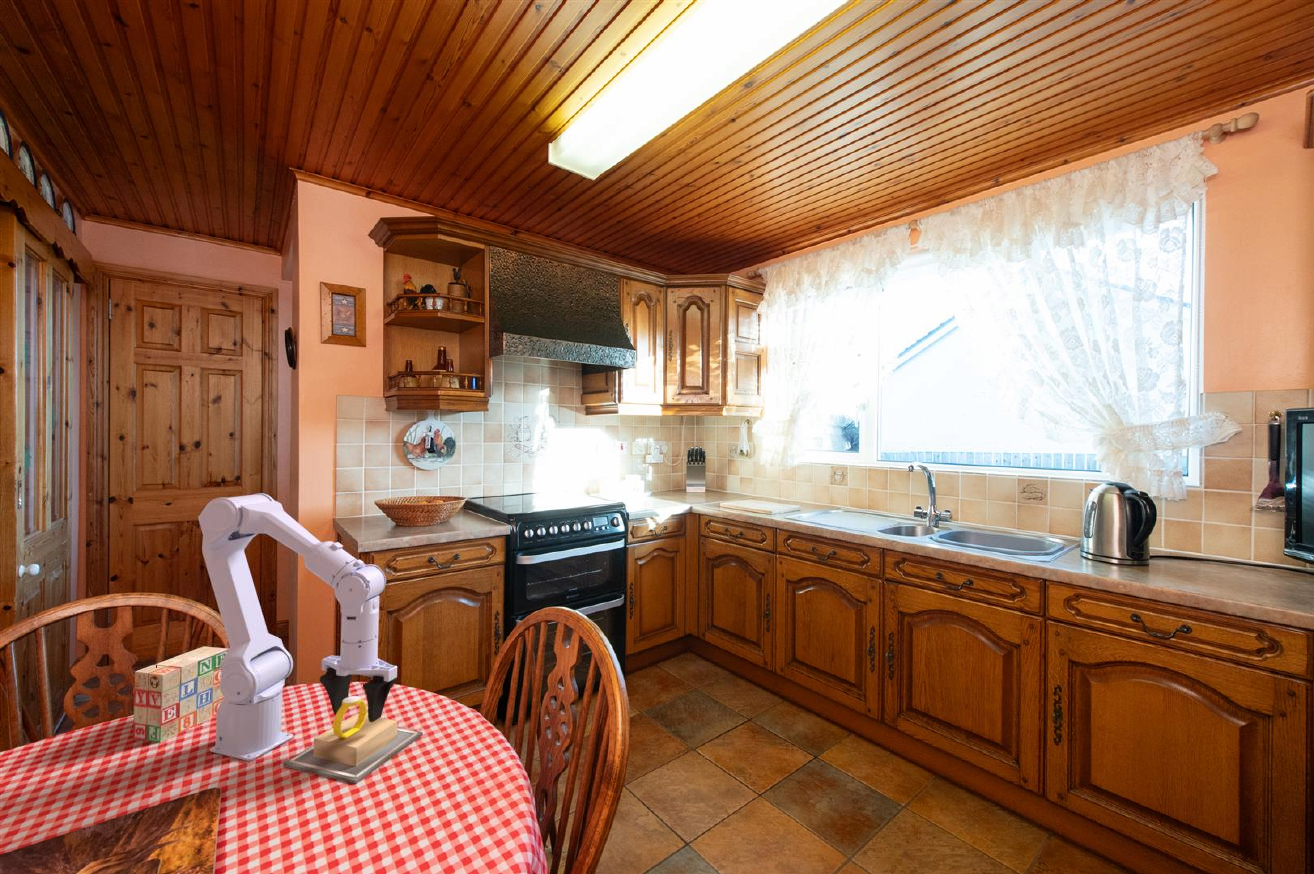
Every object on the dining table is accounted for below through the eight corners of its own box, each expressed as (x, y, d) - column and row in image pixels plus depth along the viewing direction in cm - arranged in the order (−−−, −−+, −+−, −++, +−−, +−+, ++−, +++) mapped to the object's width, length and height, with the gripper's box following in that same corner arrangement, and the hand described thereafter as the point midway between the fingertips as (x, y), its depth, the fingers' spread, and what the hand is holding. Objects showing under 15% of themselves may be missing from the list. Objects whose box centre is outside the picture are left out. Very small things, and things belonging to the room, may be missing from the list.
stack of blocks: (245, 687, 117) (247, 630, 117) (269, 690, 115) (271, 632, 116) (131, 739, 96) (134, 670, 96) (159, 744, 94) (162, 673, 95)
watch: (356, 726, 95) (359, 691, 96) (369, 728, 95) (372, 693, 95) (328, 741, 90) (331, 704, 90) (341, 743, 89) (344, 706, 89)
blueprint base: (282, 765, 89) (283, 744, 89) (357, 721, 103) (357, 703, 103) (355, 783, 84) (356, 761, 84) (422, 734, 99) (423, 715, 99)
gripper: (307, 640, 92) (304, 719, 92) (375, 650, 88) (373, 734, 88) (341, 627, 99) (339, 701, 99) (406, 636, 95) (404, 713, 95)
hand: (357, 715), depth 94 cm, fingers open, 7 cm apart
